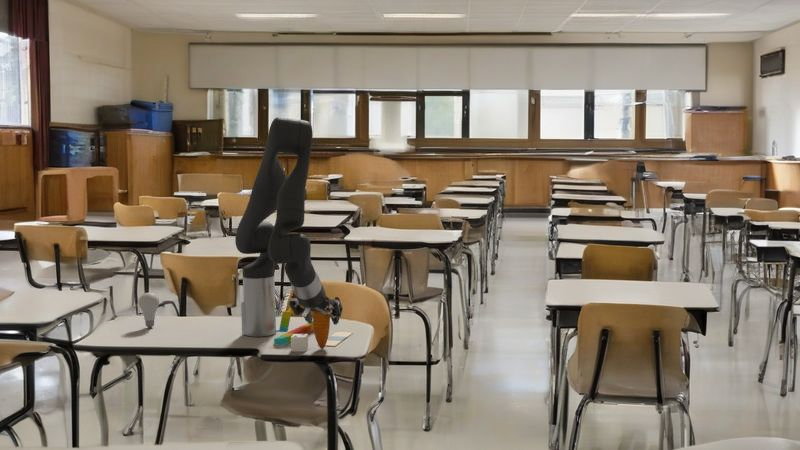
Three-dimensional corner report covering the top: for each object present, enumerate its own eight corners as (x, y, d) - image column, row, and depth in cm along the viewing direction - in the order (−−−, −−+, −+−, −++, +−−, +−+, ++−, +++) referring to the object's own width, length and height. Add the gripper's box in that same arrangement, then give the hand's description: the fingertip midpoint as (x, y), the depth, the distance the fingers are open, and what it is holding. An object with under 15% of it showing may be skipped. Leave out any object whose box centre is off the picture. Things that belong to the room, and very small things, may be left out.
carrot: (317, 346, 260) (316, 293, 259) (334, 347, 259) (332, 294, 257) (310, 350, 256) (308, 296, 254) (326, 351, 254) (325, 297, 252)
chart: (319, 323, 292) (318, 275, 290) (328, 323, 291) (327, 276, 289) (273, 345, 264) (271, 292, 262) (283, 346, 263) (282, 293, 261)
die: (291, 351, 255) (290, 336, 255) (293, 348, 259) (293, 333, 259) (305, 351, 255) (305, 336, 255) (308, 348, 259) (307, 333, 259)
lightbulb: (144, 331, 283) (143, 295, 282) (136, 327, 288) (134, 292, 287) (163, 328, 287) (162, 292, 286) (155, 324, 292) (153, 290, 291)
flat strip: (317, 345, 261) (317, 344, 261) (336, 332, 277) (336, 331, 277) (334, 346, 260) (334, 345, 260) (353, 333, 276) (353, 332, 276)
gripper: (336, 275, 246) (351, 311, 258) (285, 274, 249) (302, 309, 262) (330, 299, 241) (345, 334, 254) (278, 297, 245) (295, 331, 257)
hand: (323, 321), depth 258 cm, fingers open, 7 cm apart
